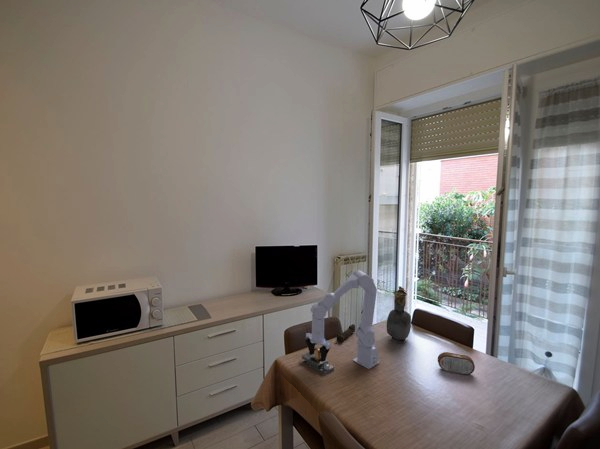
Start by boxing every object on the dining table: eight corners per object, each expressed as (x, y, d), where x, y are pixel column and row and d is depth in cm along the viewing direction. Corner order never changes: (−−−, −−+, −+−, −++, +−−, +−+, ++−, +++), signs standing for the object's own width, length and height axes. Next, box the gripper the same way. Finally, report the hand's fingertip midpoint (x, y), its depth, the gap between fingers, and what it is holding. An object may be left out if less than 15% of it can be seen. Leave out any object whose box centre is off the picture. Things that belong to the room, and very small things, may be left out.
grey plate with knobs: (333, 370, 137) (334, 363, 137) (323, 375, 133) (323, 369, 132) (311, 356, 148) (311, 350, 148) (301, 361, 144) (301, 355, 144)
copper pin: (321, 365, 140) (322, 349, 140) (317, 368, 138) (317, 351, 138) (317, 363, 143) (317, 346, 142) (312, 365, 141) (313, 349, 140)
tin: (473, 373, 135) (474, 355, 135) (474, 377, 132) (476, 359, 132) (437, 367, 140) (437, 350, 140) (437, 370, 137) (438, 353, 137)
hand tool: (342, 344, 162) (342, 336, 161) (336, 341, 164) (336, 333, 164) (358, 332, 176) (359, 324, 176) (352, 330, 179) (353, 322, 178)
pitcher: (384, 342, 163) (386, 289, 160) (394, 330, 179) (396, 281, 176) (404, 348, 157) (407, 293, 154) (413, 334, 173) (415, 284, 170)
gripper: (301, 326, 142) (300, 354, 143) (322, 338, 131) (322, 367, 132) (312, 322, 146) (311, 349, 148) (333, 333, 135) (333, 361, 137)
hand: (317, 357), depth 140 cm, fingers open, 7 cm apart
